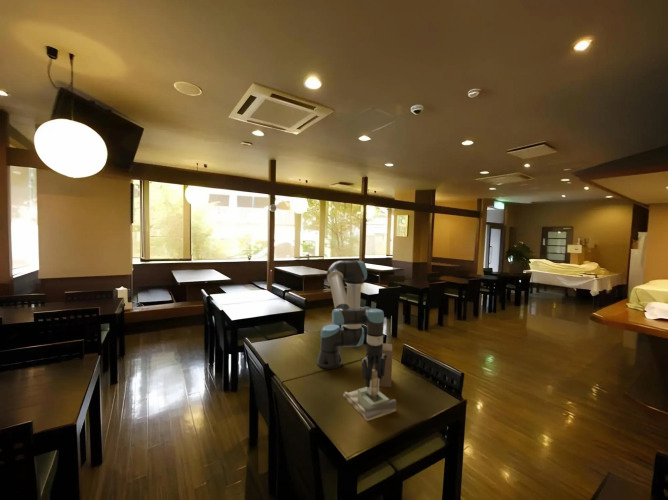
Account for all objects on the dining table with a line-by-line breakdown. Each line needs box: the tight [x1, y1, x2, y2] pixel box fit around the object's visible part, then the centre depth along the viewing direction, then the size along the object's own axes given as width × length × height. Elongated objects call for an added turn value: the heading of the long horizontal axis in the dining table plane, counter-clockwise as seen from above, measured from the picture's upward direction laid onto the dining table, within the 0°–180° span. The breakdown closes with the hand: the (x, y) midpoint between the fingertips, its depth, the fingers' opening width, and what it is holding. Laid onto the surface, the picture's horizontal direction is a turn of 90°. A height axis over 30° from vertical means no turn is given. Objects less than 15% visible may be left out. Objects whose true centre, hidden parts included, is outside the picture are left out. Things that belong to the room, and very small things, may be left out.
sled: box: [357, 386, 390, 409], centre depth 131 cm, size 11×10×6 cm
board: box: [342, 389, 397, 422], centre depth 134 cm, size 21×16×5 cm
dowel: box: [369, 369, 378, 402], centre depth 131 cm, size 4×4×14 cm
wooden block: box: [373, 342, 393, 388], centre depth 154 cm, size 10×10×20 cm
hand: (372, 392), depth 131 cm, fingers closed on dowel, 4 cm apart
